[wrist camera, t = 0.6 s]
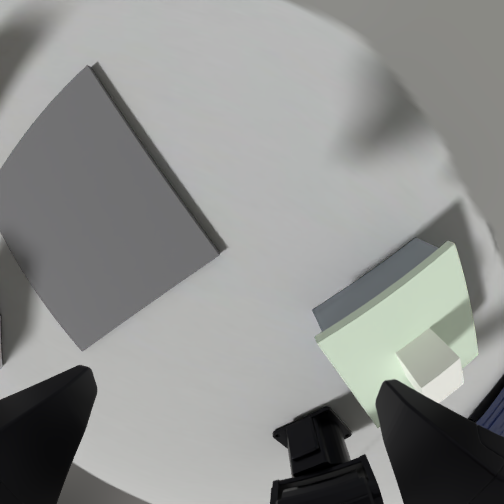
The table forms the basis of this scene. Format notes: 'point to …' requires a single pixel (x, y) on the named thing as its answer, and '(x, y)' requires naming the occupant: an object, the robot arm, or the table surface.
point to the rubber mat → (94, 215)
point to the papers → (494, 416)
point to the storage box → (372, 283)
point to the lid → (408, 334)
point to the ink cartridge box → (0, 346)
